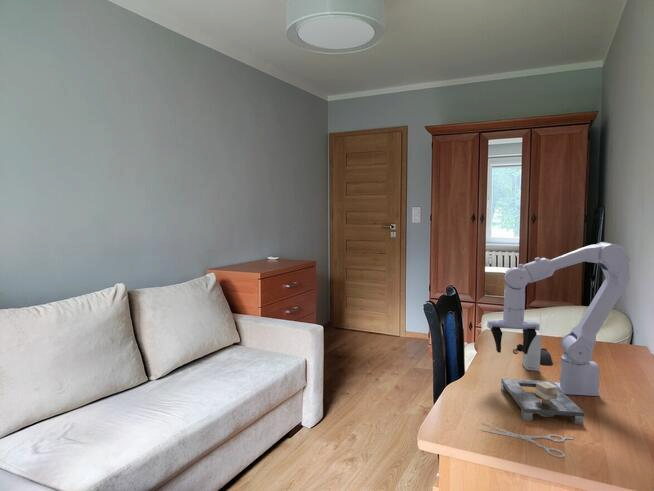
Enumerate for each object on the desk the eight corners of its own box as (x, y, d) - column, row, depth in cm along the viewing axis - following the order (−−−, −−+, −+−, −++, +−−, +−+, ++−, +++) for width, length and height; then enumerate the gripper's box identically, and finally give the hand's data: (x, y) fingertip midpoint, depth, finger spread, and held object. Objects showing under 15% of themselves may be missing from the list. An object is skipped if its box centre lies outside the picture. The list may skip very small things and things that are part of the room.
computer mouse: (514, 363, 153) (515, 351, 153) (512, 348, 170) (512, 338, 169) (554, 367, 149) (554, 356, 149) (547, 352, 166) (547, 342, 165)
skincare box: (539, 371, 144) (542, 335, 143) (526, 370, 145) (528, 334, 144) (535, 365, 150) (537, 330, 149) (521, 363, 151) (523, 329, 150)
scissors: (573, 460, 92) (473, 433, 102) (572, 463, 92) (473, 437, 102) (573, 437, 101) (482, 415, 111) (573, 441, 101) (482, 418, 111)
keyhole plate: (551, 391, 128) (551, 381, 128) (583, 424, 108) (584, 412, 108) (501, 388, 129) (501, 378, 129) (523, 420, 110) (524, 408, 109)
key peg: (545, 408, 117) (547, 380, 116) (558, 416, 112) (560, 387, 112) (531, 410, 115) (533, 382, 115) (544, 418, 111) (546, 389, 111)
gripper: (534, 306, 135) (532, 349, 136) (485, 304, 137) (483, 347, 138) (543, 311, 128) (540, 356, 129) (491, 309, 130) (489, 354, 131)
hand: (511, 352), depth 133 cm, fingers open, 7 cm apart
